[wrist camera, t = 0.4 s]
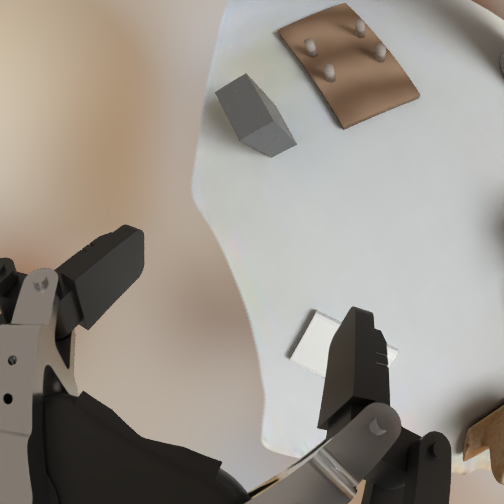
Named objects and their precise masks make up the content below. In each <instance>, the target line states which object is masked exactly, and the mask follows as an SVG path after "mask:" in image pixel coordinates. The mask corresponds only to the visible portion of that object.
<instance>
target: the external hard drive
mask: <svg viewBox="0 0 504 504" xmlns="http://www.w3.org/2000/svg"><path fill="white" fill-rule="evenodd" d="M341 323H342V322H340V321H338V320H336V319H334V318H332V317H329V316H327V315H325V314H323V313H321V312H319V311H317V310H316V312H315V314H314V316H313V318H312V320H311V322H310V323H309V325H308V327H307V329H306V331H305V333H304V334H303V336H302V338H301V340H300V342H299V343H298V345H297V347H296V349H295V350H294V352H293V354H292V355H291V357H290V359H289V361H290V362H292V363H294V364H296V365H298V366H301V367H303V368H305V369H307V370H309V371H311V372H313V373H315V374H317V375H320V376H322V377H324V378H325V376H326V369H327V361H328V353H329V347H330V344H331V341H332V338H333V336H334V334H335V333H336V331H337V330H338V328H339V326H340V325H341ZM387 354H388V355H387V357H388V367H389V366H390V364H391V363H392V361H393V360H394V358H395V357H396V356H397V354H398V349H397V348H395V347H392V346H390V345H388V344H387Z"/></svg>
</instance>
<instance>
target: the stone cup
mask: <svg viewBox="0 0 504 504" xmlns="http://www.w3.org/2000/svg"><path fill="white" fill-rule="evenodd" d="M488 448H489V449H490V459H491V469H492V472H493V475H494V477H495V479H496V480H497V481H498V482H499V483H500V484H503V485H504V405H502V406H501V407H499V408H498V409H497V410H495V411H494V412H492V413H491V414H489V415H488V416H487V417H485V418H484V419H482V420H481V421H479V422H477V423H476V424H474V425H473V426H471V427H470V428H469V429H468V431H467V433H466V438H465V443H464V447H463V461H467V460H468V459H470V458H472V457H474V456H476V455H478V454H480V453H481V452H483V451H485V450H487V449H488Z"/></svg>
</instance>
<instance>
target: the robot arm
mask: <svg viewBox="0 0 504 504" xmlns="http://www.w3.org/2000/svg"><path fill="white" fill-rule="evenodd" d="M500 65H501V70H502V73H503V75H504V53H503V54H502V56H501V58H500ZM143 268H144V233H143V231H142V230H140V229H137V228H134V227H132V226H129V225H123V226H121V227H120V228H118V229H117V230H116V231H114V232H113V233H112V232H111V233H108V234H105V235H102V236H100V237H98V238H97V239H95V240H94V241H93V242H91V243H90V245H87V246H86V247H84V248H83V249H82V251H81V250H80V251H79V252H77V253H76V254H75V255H74V256H72V257H71V258H70V259H68V260H67V261H66V262H65V263H63V264H62V265H61V266H60V267H58V268H57V269H55V270H52V269H50V268H40V269H37V270H34V271H32V272H31V273H30V274H28V275H27V274H24V273H20V272H17V271H16V268H15V265H14V262H13V261H12V260H11V259H10V258H0V310H1V314H0V504H348V503H349V502H350V501H351V500H352V499H353V497H354V496H355V495H356V493H357V489H356V487H357V485H358V484H359V483H360V482H361V481H362V480H363V479H364V480H366V484H365V489H364V494H363V498H362V502H361V504H449V495H450V483H451V446H450V443H449V441H448V439H447V438H446V437H445V436H444V435H443V434H442V433H440V432H436V431H433V432H429V433H428V434H426V435H424V436H423V437H421V436H419V435H417V434H415V433H413V432H411V431H409V430H407V429H405V428H403V427H402V426H401V421H400V418H399V416H398V414H397V412H396V411H395V410H394V409H393V408H392V407H390V389H389V368H388V357H387V355H388V354H387V343H386V341H385V339H384V336H383V334H382V332H381V330H377V329H374V317H373V313H372V312H369V311H366V310H363V309H360V308H357V307H354V306H353V307H352V308H351V309H350V310H349V312H348V313H347V315H346V317H345V318H344V320H343V322H342V323H341V325H340V326H339V328H338V330H337V331H336V333H335V334H334V336H333V338H332V341H331V344H330V347H329V353H328V361H327V369H326V376H325V384H324V390H323V397H322V403H321V409H320V415H319V421H318V426H317V428H319V429H324V430H327V436H326V439H325V440H323V441H322V442H321V443H320V444H318V445H317V446H316V447H315V448H313V449H312V450H311V451H309V452H308V453H307V454H306V455H304V456H303V457H302V458H300V459H299V460H298V461H296V462H295V463H294V464H292V465H291V466H290V467H288V468H287V469H285V470H284V471H282V472H281V473H279V474H278V475H276V476H274V477H273V478H271V479H269V480H268V481H266V482H265V483H263V484H261V485H260V486H258V487H257V488H255V489H253V490H251V491H250V492H248V493H247V492H246V490H245V489H244V488H243V487H242V486H241V485H240V483H239V482H238V481H237V480H236V479H235V478H233V477H232V476H231V475H230V474H228V473H227V472H225V471H224V470H222V469H220V466H221V464H222V462H221V461H218V460H215V459H212V458H210V457H207V456H205V455H202V454H199V453H197V452H194V451H192V450H190V449H187V448H185V447H181V446H176V445H171V444H167V443H162V442H158V441H154V440H150V439H145V438H143V437H141V436H140V435H138V434H137V433H136V432H135V431H134V430H133V429H131V428H130V427H129V426H128V425H127V424H126V423H125V422H124V421H123V420H122V419H121V418H120V417H118V415H117V414H116V413H115V412H114V411H113V410H112V409H110V408H108V407H107V406H105V405H104V404H102V403H101V402H99V401H97V400H96V399H94V398H93V397H91V396H90V395H89V394H87V393H86V392H84V391H83V392H82V393H81V394H80V396H78V390H77V386H76V382H75V378H74V351H75V329H74V328H75V327H76V326H77V325H78V324H79V325H81V326H82V327H84V328H85V329H87V330H89V329H90V328H91V327H92V326H93V325H94V324H95V323H96V321H97V320H98V319H99V318H100V317H101V316H102V315H103V314H104V313H105V312H106V311H107V310H108V309H109V308H110V306H112V304H113V303H114V302H115V301H116V300H117V299H118V298H119V297H120V296H121V295H122V294H123V293H124V292H125V291H126V290H127V289H128V288H129V287H130V286H131V285H132V284H133V283H134V282H135V281H136V280H137V279H138V278H139V277H140V275H141V273H142V271H143Z"/></svg>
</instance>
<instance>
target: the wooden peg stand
mask: <svg viewBox="0 0 504 504" xmlns="http://www.w3.org/2000/svg"><path fill="white" fill-rule="evenodd" d="M277 31H278V33H279V34H280V36H281V37H282V38H283V39H284V41H285V42H286V43H287V45H288V46H289V47H290V48H291V50H292V51H293V52H294V54H295V55H296V57H297V58H298V59H299V61H300V62H301V63H302V65H303V66H304V68H305V69H306V70H307V72H308V73H309V75H310V76H311V78H312V79H313V81H314V82H315V84H316V85H317V87H318V88H319V90H320V91H321V93H322V94H323V96H324V97H325V99H326V101H327V102H328V104H329V105H330V107H331V109H332V110H333V112H334V114H335V115H336V117H337V119H338V120H339V122H340V124H341V126H342V127H343V129H344V130H345V129H347V128H349V127H351V126H353V125H356V124H358V123H360V122H362V121H365V120H367V119H369V118H372V117H374V116H376V115H379V114H381V113H383V112H386V111H388V110H391V109H393V108H395V107H398V106H400V105H403V104H405V103H408V102H411V101H413V100H416V99H418V98H419V97H420V94H419V92H418V90H417V89H416V87H415V86H414V84H413V83H412V81H411V80H410V78H409V77H408V76H407V74H406V73H405V71H404V70H403V69H402V67H401V66H400V64H399V63H398V62H397V60H396V59H395V58H394V57H393V55H392V54H391V53H390V51H389V50H388V49H387V48H386V46H385V45H384V44H383V43H382V42H381V40H380V39H379V38H378V37H377V36H376V35H375V33H374V32H373V31H372V30H371V29H370V28H369V27H368V26H367V24H366V23H365V22H364V21H363V20H362V19H361V18H360V17H359V16H358V15H357V14H356V13H355V12H354V11H353V10H352V9H351V8H350V7H349V6H348V5H347V4H346V3H343V4H340V5H337V6H334V7H332V8H329V9H326V10H323V11H321V12H318V13H316V14H313V15H311V16H308V17H306V18H304V19H301V20H299V21H297V22H294V23H292V24H290V25H288V26H286V27H284V28H281V29H279V30H277Z"/></svg>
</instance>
